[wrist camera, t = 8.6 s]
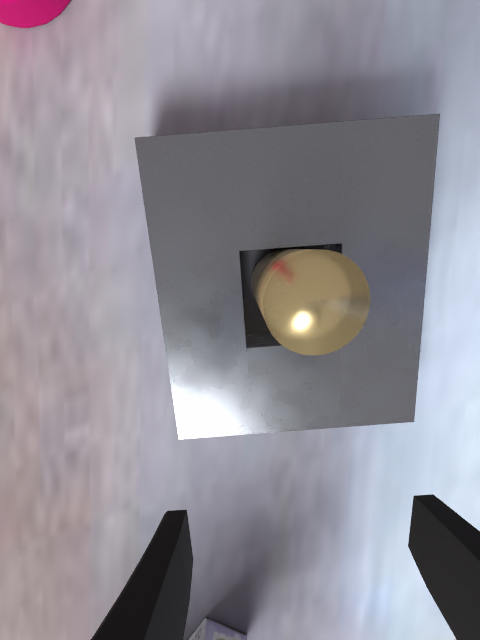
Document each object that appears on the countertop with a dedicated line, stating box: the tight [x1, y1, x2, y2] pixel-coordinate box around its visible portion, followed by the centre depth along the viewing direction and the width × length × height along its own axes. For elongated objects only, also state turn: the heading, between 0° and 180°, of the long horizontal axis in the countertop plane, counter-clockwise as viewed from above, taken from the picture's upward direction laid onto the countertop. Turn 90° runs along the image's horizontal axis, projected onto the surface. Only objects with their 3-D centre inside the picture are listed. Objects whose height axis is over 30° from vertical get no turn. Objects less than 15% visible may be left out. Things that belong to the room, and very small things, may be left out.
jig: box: [135, 114, 440, 439], centre depth 16 cm, size 14×16×2 cm
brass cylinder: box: [251, 249, 370, 355], centre depth 14 cm, size 4×4×7 cm
